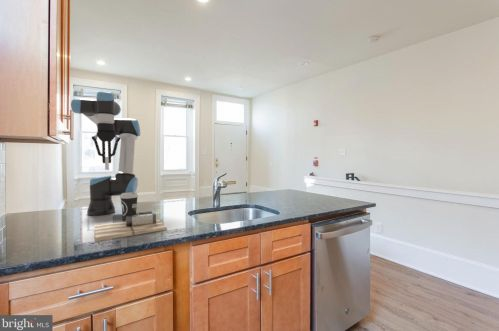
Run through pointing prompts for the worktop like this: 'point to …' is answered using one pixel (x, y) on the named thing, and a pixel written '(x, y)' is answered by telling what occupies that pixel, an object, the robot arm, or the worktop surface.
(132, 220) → the lock bar
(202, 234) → the worktop surface
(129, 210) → the coffee cup
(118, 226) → the wooden pallet
